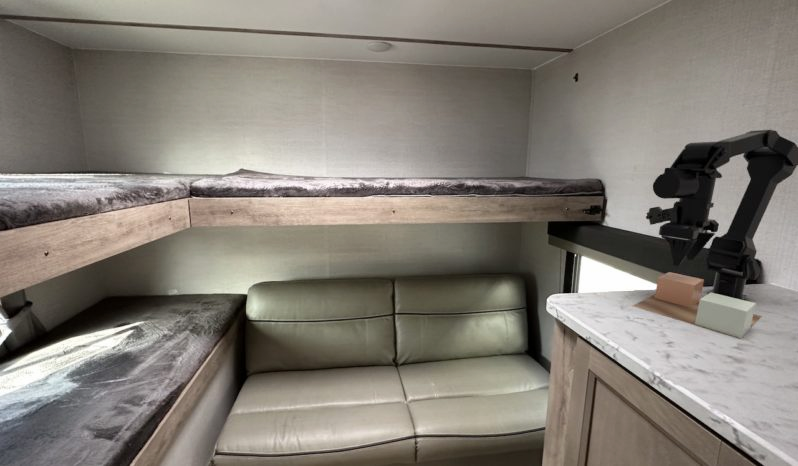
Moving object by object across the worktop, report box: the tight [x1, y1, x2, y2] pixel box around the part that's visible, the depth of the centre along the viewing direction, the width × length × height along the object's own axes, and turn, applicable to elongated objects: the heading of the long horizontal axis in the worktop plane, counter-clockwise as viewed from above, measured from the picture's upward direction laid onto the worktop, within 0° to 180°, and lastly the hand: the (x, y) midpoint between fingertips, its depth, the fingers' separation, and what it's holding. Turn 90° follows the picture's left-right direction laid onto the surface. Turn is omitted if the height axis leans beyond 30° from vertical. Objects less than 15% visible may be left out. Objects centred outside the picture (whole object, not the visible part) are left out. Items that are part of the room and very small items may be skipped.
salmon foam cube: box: [654, 271, 705, 308], centre depth 84 cm, size 7×7×6 cm
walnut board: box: [632, 293, 763, 340], centre depth 78 cm, size 18×18×1 cm
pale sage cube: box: [695, 292, 757, 339], centre depth 70 cm, size 7×7×6 cm
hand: (683, 262), depth 82 cm, fingers open, 9 cm apart
